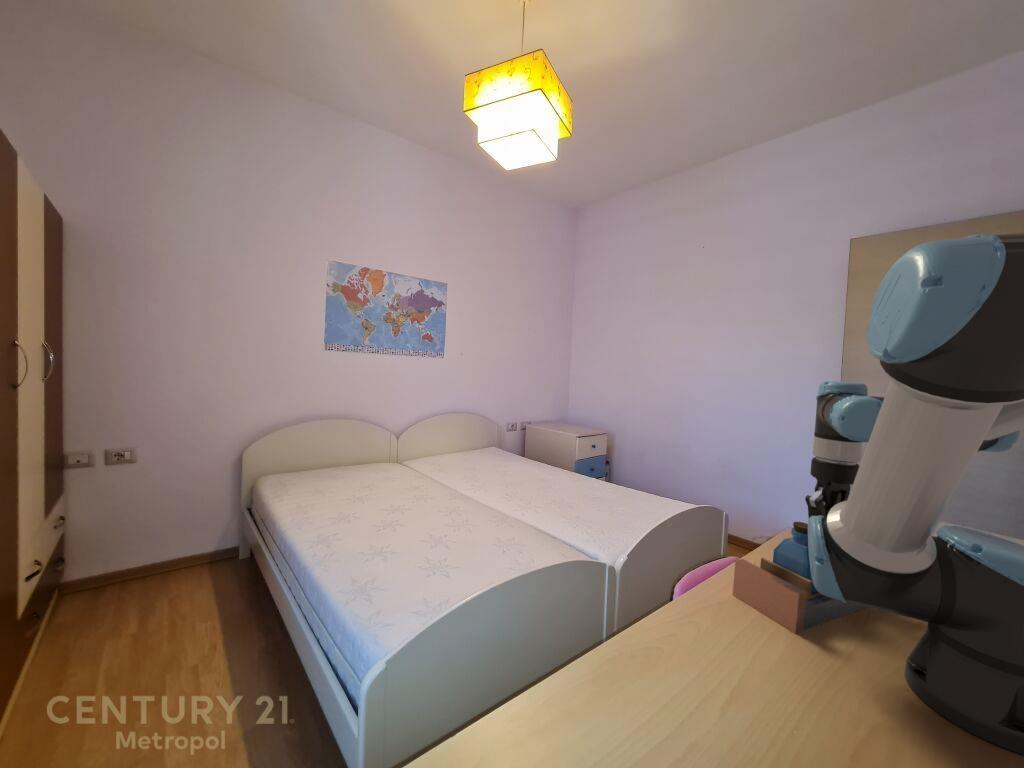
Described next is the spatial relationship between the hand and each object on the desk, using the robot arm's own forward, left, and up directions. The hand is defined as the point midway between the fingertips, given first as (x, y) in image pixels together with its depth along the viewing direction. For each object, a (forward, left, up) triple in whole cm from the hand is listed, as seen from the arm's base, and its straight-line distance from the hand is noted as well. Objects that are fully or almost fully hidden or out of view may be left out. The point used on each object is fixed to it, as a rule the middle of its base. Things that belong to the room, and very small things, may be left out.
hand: (824, 575), depth 82 cm
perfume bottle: (0, +8, -1) cm, 8 cm away
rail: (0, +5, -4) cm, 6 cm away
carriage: (0, +7, -3) cm, 7 cm away
